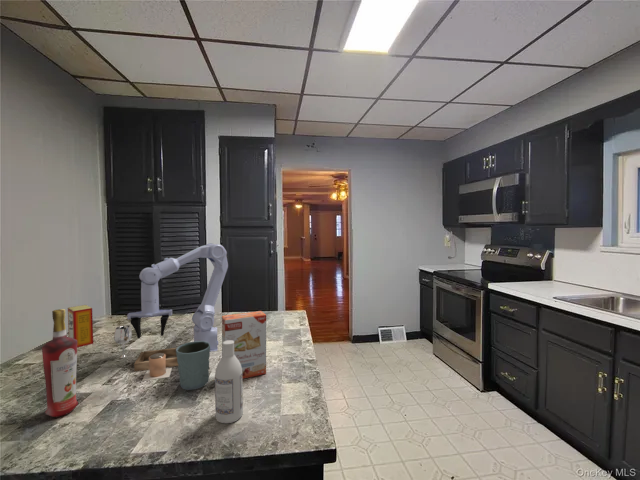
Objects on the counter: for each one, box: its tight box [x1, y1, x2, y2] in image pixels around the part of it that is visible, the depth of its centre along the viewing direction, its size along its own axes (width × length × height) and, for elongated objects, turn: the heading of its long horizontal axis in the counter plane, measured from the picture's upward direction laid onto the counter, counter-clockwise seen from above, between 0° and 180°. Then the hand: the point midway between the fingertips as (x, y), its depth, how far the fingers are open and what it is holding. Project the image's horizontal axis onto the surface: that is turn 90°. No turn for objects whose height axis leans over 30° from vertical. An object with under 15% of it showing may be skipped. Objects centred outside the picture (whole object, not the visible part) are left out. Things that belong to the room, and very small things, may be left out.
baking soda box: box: [67, 304, 94, 348], centre depth 134 cm, size 10×6×16 cm
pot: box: [148, 353, 167, 377], centre depth 104 cm, size 5×5×6 cm
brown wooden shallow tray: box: [133, 347, 179, 373], centre depth 114 cm, size 15×11×3 cm
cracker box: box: [221, 310, 267, 380], centre depth 104 cm, size 14×6×21 cm, turn 117°
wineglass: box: [113, 325, 133, 359], centre depth 118 cm, size 6×6×12 cm
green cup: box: [176, 340, 211, 391], centre depth 99 cm, size 10×10×12 cm
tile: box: [141, 367, 173, 382], centre depth 104 cm, size 8×7×1 cm
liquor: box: [41, 308, 79, 418], centre depth 83 cm, size 7×7×28 cm
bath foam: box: [214, 340, 244, 424], centre depth 81 cm, size 7×7×20 cm
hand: (150, 336), depth 114 cm, fingers open, 7 cm apart
